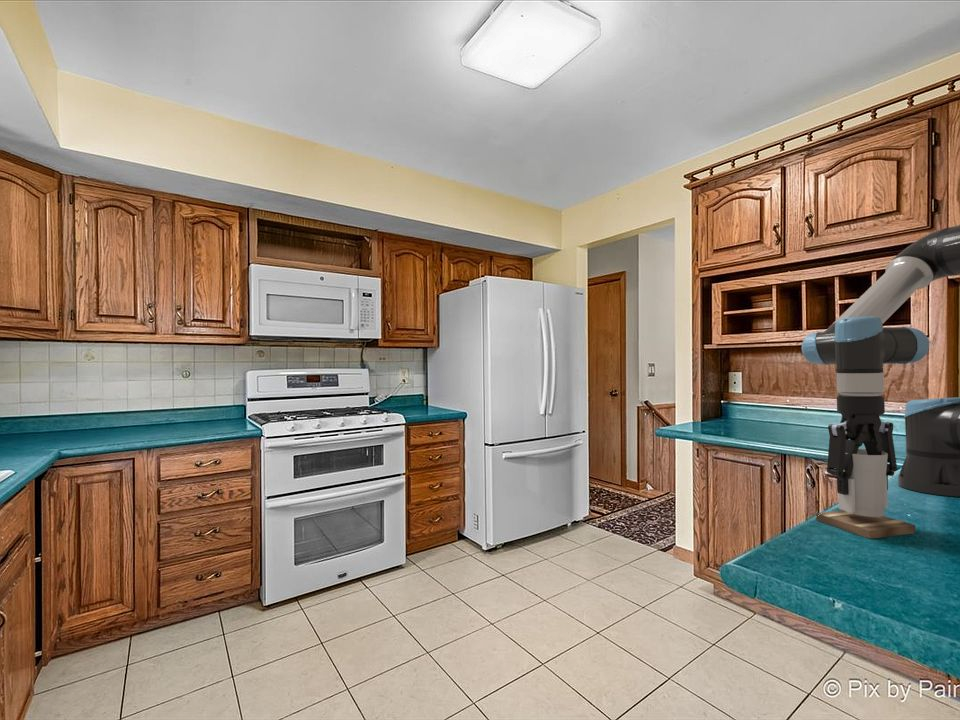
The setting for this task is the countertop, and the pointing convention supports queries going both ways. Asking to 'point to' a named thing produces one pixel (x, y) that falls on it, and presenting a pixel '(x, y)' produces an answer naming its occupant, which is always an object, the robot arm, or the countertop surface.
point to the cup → (869, 483)
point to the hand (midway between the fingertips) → (863, 508)
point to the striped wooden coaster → (866, 524)
